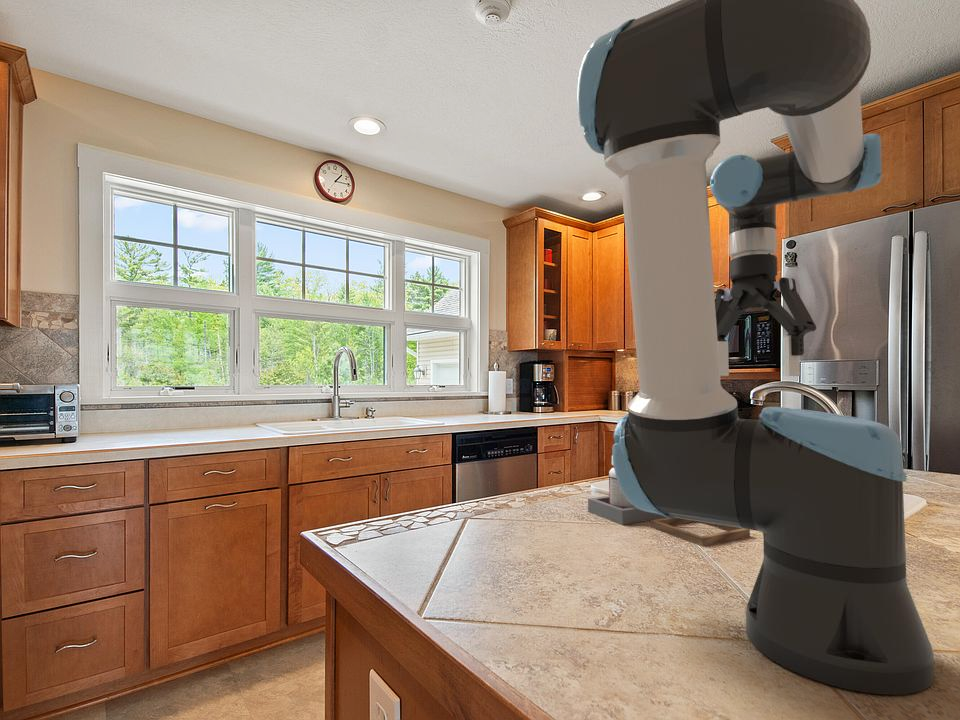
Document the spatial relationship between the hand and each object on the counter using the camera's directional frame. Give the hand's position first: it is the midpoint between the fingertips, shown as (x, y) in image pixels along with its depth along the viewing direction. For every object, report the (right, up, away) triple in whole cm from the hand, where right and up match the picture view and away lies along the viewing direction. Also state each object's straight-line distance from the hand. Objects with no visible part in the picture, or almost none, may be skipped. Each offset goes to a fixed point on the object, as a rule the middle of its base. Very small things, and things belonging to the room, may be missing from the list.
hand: (754, 376), depth 92 cm
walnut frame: (-11, -27, -3) cm, 29 cm away
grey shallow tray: (-16, -27, +10) cm, 33 cm away
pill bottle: (-21, -27, +8) cm, 35 cm away
